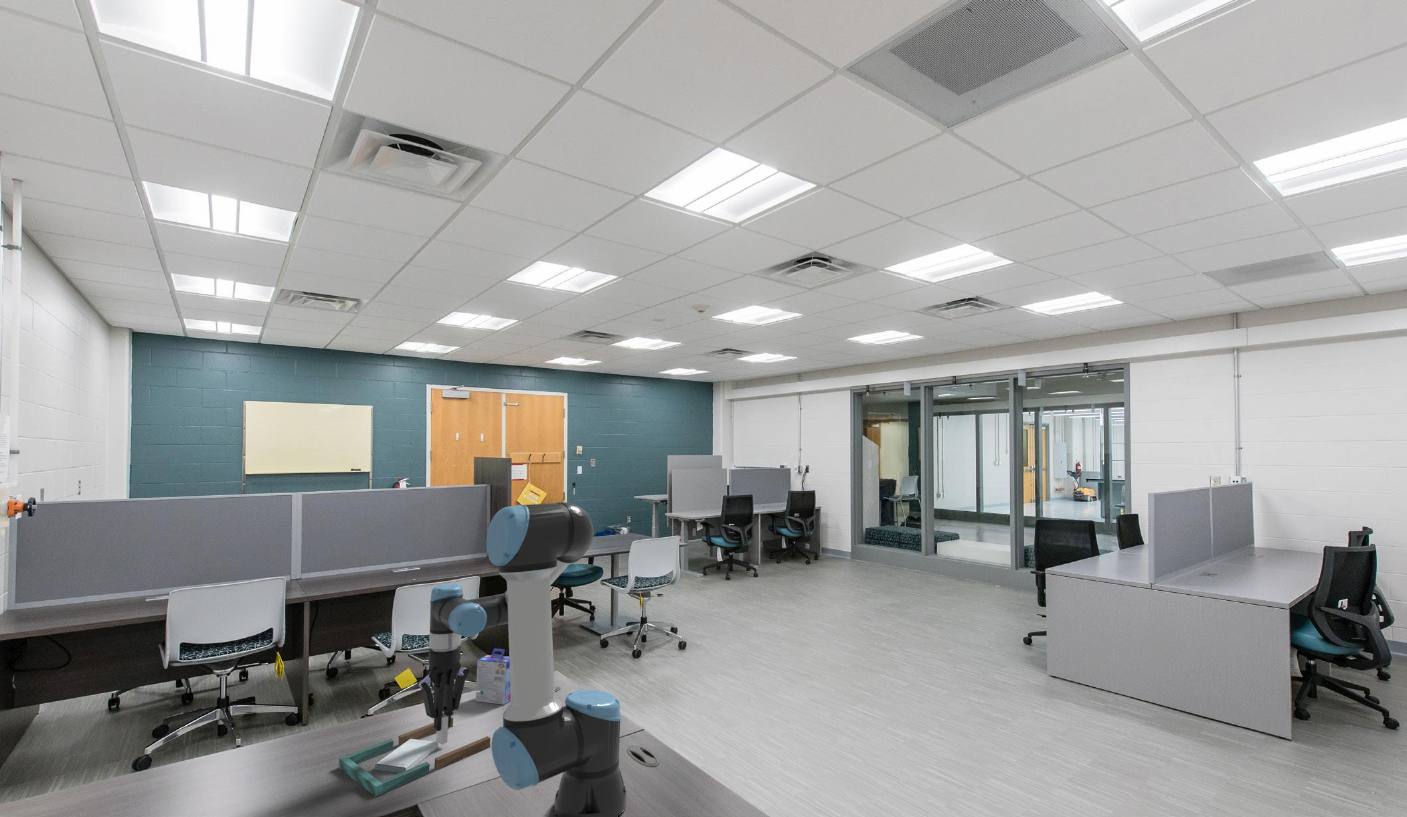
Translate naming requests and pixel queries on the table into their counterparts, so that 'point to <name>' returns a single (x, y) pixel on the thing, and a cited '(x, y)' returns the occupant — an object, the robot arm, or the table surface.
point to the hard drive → (406, 756)
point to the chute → (381, 787)
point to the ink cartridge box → (493, 678)
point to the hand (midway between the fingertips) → (441, 741)
